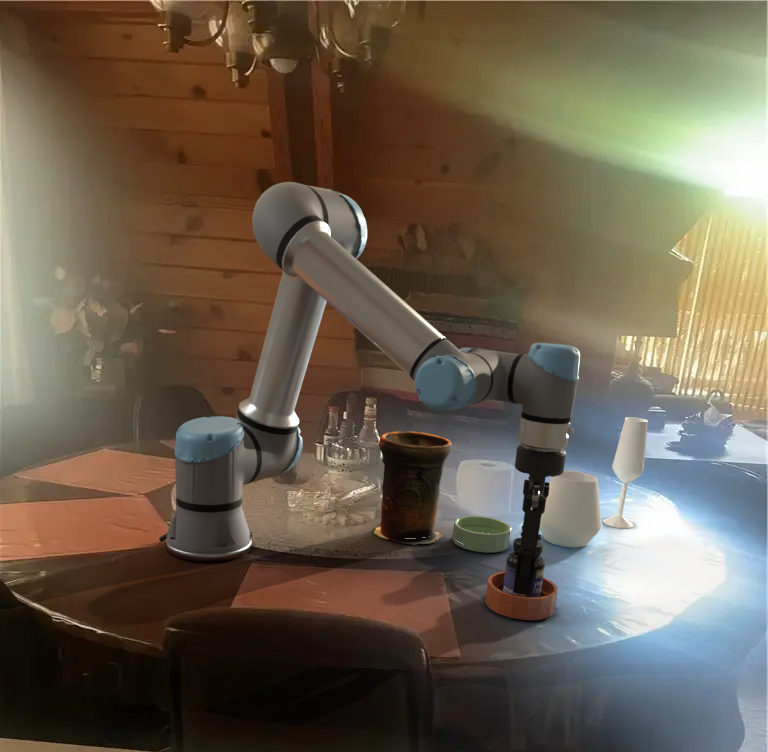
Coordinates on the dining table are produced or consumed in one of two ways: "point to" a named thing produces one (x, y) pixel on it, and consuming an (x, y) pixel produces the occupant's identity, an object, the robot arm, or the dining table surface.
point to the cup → (571, 510)
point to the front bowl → (520, 600)
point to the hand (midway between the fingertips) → (522, 584)
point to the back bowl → (481, 534)
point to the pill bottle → (511, 571)
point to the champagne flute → (628, 462)
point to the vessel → (411, 485)
